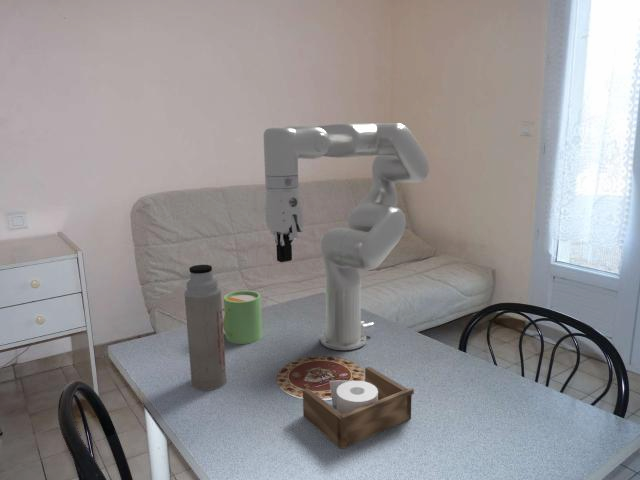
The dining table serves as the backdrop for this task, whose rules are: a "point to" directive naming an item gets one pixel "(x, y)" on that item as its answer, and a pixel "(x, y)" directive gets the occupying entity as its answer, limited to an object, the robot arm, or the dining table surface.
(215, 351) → the thermos bottle
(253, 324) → the mug
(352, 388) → the toilet paper
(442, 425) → the dining table surface
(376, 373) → the open wooden box
